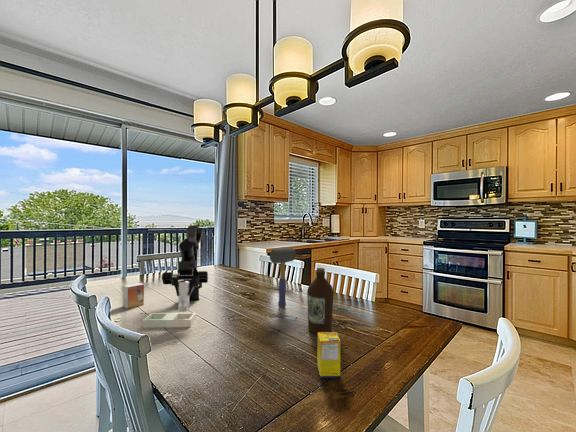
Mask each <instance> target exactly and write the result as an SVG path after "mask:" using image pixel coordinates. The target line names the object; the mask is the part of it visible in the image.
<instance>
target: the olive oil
mask: <svg viewBox="0 0 576 432" xmlns="http://www.w3.org/2000/svg"><path fill="white" fill-rule="evenodd" d="M306 293H307V294H306V295H307V325H308V327H307V328H308V329H309V330H308V331H309V332H310V333H311V332H312V334H314V333H315V334H314V335H318V332H333V331H332V330H333V329H332V327H333V310H334V309H333V307H334V298H335V295H334V293H335V291H334V288H333V286H332V285H331V283H330V282H329V281H328V280H327V278H326V272H325V268H324V267H317V268H316V278H315V279H314V280H313V281H312V282H311V283H309V285H308V288H307V292H306Z"/></svg>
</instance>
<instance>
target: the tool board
mask: <svg viewBox="0 0 576 432" xmlns="http://www.w3.org/2000/svg"><path fill="white" fill-rule="evenodd" d="M196 320H197V312H150V313H149V314H148V315H147V316H146V317H145V318H143V319H142V322H141V323H142V326H141V327H142V328H143V329H145V328H147V329H148V328H153V329H154V328H191V327H192V326H193V325H194V323H195V322H196Z"/></svg>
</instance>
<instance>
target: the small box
mask: <svg viewBox="0 0 576 432" xmlns="http://www.w3.org/2000/svg"><path fill="white" fill-rule="evenodd" d="M144 303H145V284H144V283H141V282H137V283H132V284H131V283H130V284H126V285H125V284H123V285H122V307H123V308H125V309H132V308H136V307H141V306H145V305H144Z"/></svg>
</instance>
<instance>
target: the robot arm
mask: <svg viewBox="0 0 576 432" xmlns="http://www.w3.org/2000/svg"><path fill="white" fill-rule="evenodd" d="M203 236H204V235H203V229H202V228H201V227H199V226H198V225H189V226H188V227H187V228H186V238H184V239H183V240H182V241H181V242H180V243H179V245H178V250H179V254H180V256H181V259H180V261H178V265H177V266H178V268H177V269H178V270H177V272H178V274H176V273H173V271H172V272H171V271H168V272H162V274H161V281H162V284H163V285H171V286H174V289H175V293H176V296H177V297H178V286H179V281H183V280H188V281H190V290H189V295H190V296H189V302H194V301H200V298H199V297H200V289H202V288H203V284H207V283H208V282H209V274H208V273H209V272H208V271H207V270H206V271H205V270H204V271H203V270H202V271H198V255H199V254H198V253H199V249H200V242H201V241H202V237H203Z"/></svg>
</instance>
